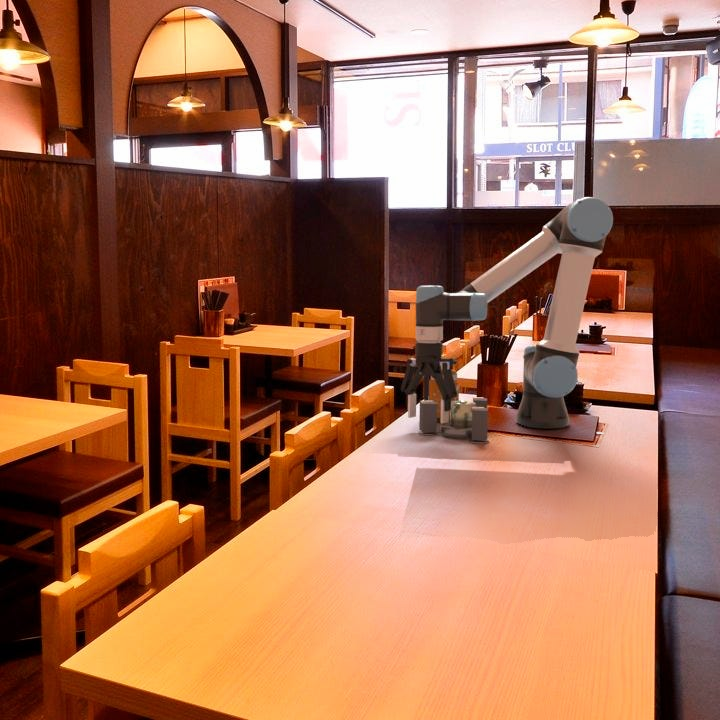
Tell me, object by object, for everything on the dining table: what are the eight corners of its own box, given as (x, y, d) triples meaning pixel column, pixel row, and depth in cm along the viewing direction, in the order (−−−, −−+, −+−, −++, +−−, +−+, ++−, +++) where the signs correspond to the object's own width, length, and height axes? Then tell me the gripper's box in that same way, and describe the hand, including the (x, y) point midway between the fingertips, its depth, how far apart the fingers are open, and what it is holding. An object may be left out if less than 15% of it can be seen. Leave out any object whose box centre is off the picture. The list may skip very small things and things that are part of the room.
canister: (457, 426, 226) (458, 358, 224) (419, 425, 228) (420, 358, 226) (459, 421, 235) (460, 355, 233) (423, 419, 237) (424, 354, 235)
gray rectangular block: (486, 437, 208) (487, 406, 207) (487, 440, 204) (487, 408, 203) (471, 436, 208) (472, 405, 207) (471, 440, 204) (472, 408, 203)
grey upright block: (433, 429, 218) (433, 399, 217) (436, 432, 215) (437, 401, 214) (419, 429, 218) (419, 399, 217) (422, 432, 214) (422, 402, 213)
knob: (486, 425, 224) (487, 396, 223) (486, 428, 220) (487, 398, 219) (472, 425, 224) (472, 396, 223) (472, 427, 220) (472, 398, 220)
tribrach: (488, 428, 224) (489, 395, 223) (489, 444, 203) (490, 408, 202) (421, 425, 227) (421, 393, 226) (415, 441, 206) (415, 406, 205)
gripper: (388, 339, 219) (387, 416, 221) (454, 345, 203) (453, 427, 205) (405, 338, 224) (404, 412, 227) (471, 343, 208) (470, 423, 210)
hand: (428, 419), depth 216 cm, fingers open, 11 cm apart
